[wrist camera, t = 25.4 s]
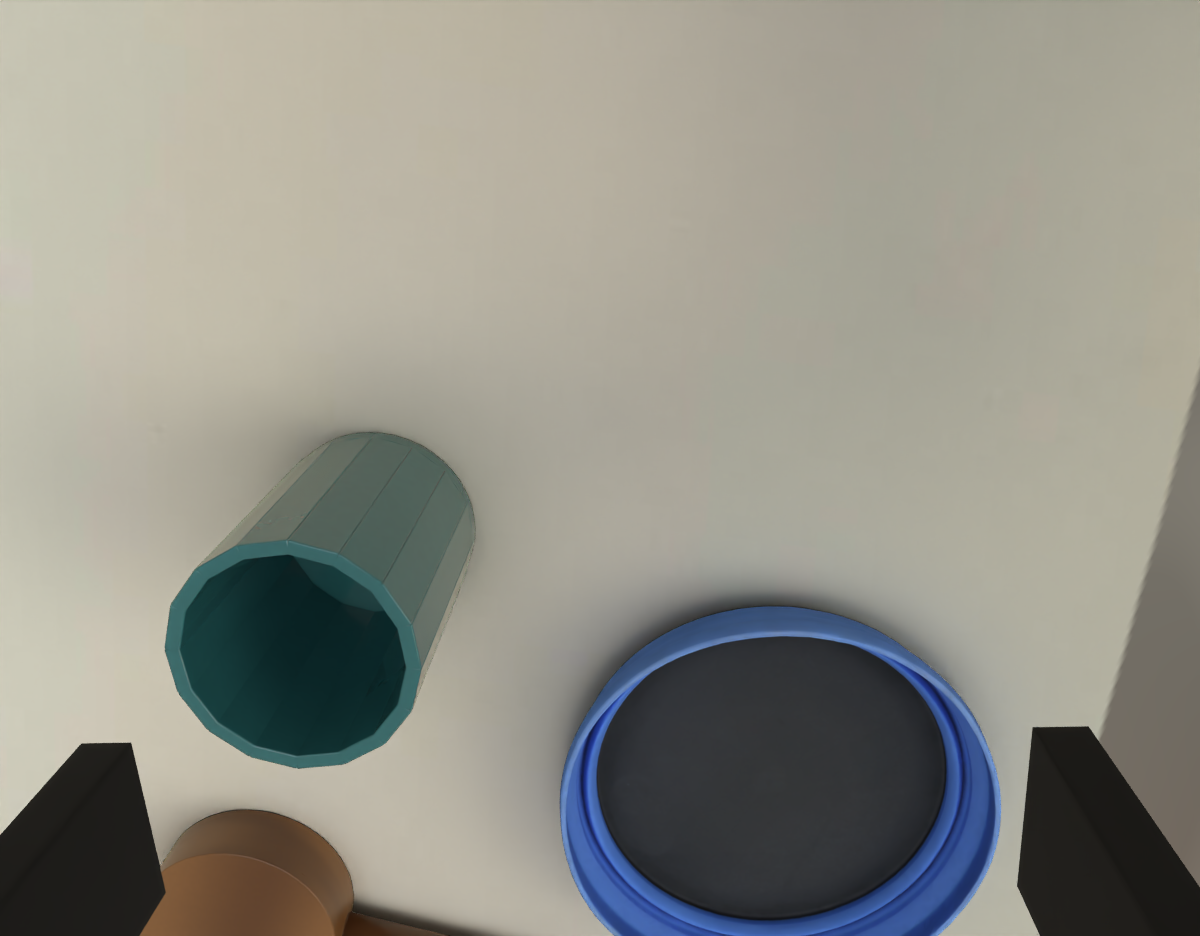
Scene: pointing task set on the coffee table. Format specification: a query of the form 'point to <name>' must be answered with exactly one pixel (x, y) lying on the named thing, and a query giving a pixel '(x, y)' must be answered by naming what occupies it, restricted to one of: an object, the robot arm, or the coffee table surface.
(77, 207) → the coffee table surface
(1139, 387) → the coffee table surface
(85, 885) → the robot arm
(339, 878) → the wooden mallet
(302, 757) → the pot
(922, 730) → the bowl
